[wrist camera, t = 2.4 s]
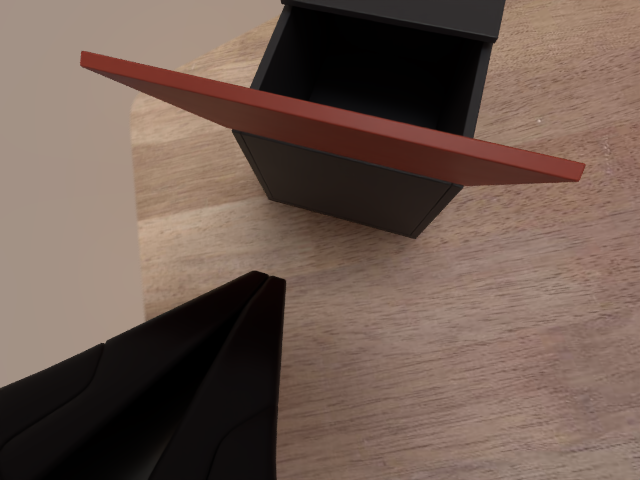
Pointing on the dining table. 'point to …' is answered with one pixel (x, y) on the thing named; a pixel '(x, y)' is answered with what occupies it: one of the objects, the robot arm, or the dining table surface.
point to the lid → (340, 129)
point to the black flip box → (373, 98)
